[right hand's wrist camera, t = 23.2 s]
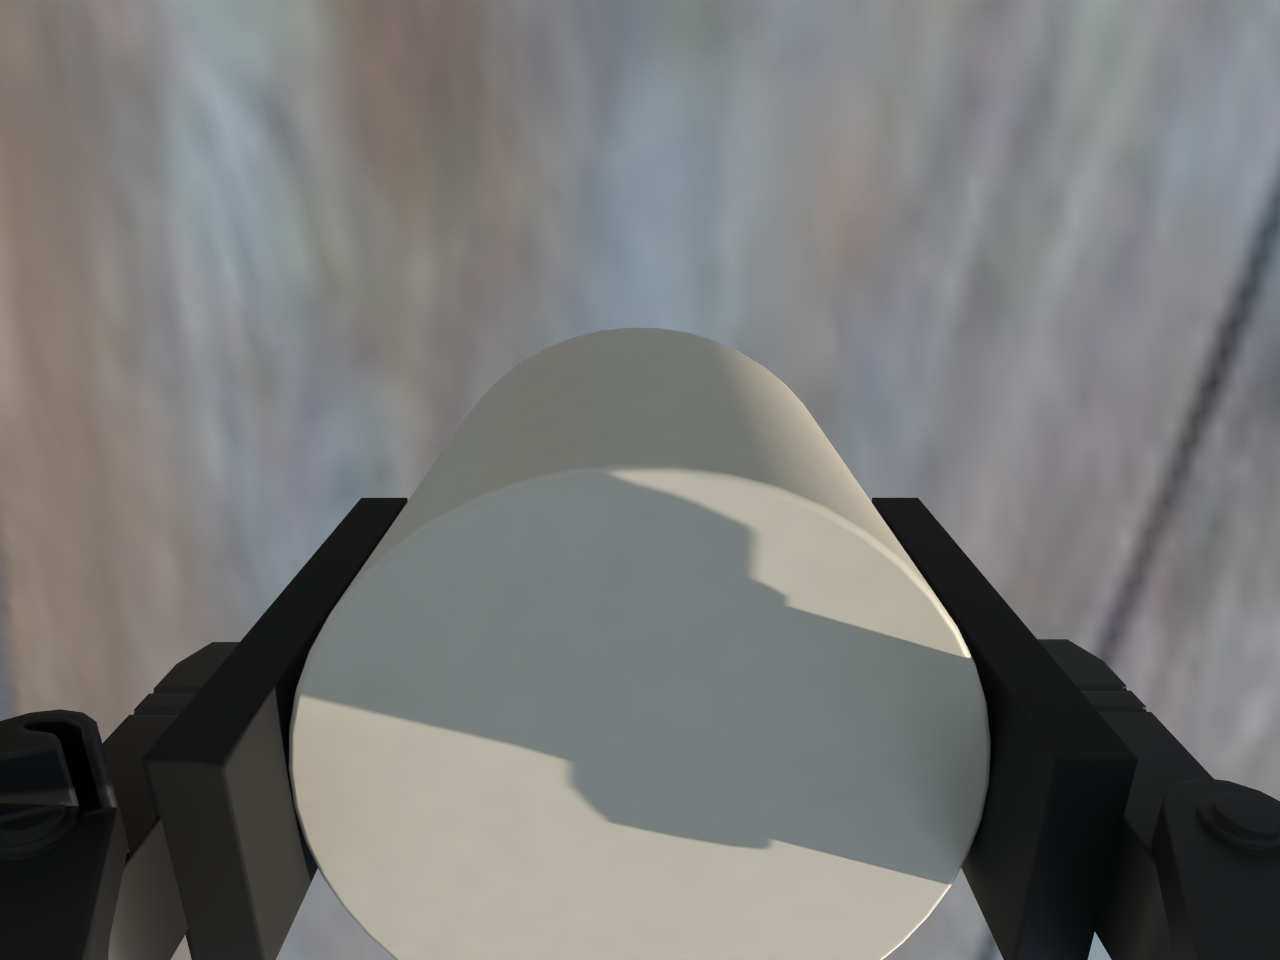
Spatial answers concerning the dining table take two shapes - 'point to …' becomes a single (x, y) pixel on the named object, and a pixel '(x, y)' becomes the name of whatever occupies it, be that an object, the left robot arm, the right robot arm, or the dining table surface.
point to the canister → (639, 684)
